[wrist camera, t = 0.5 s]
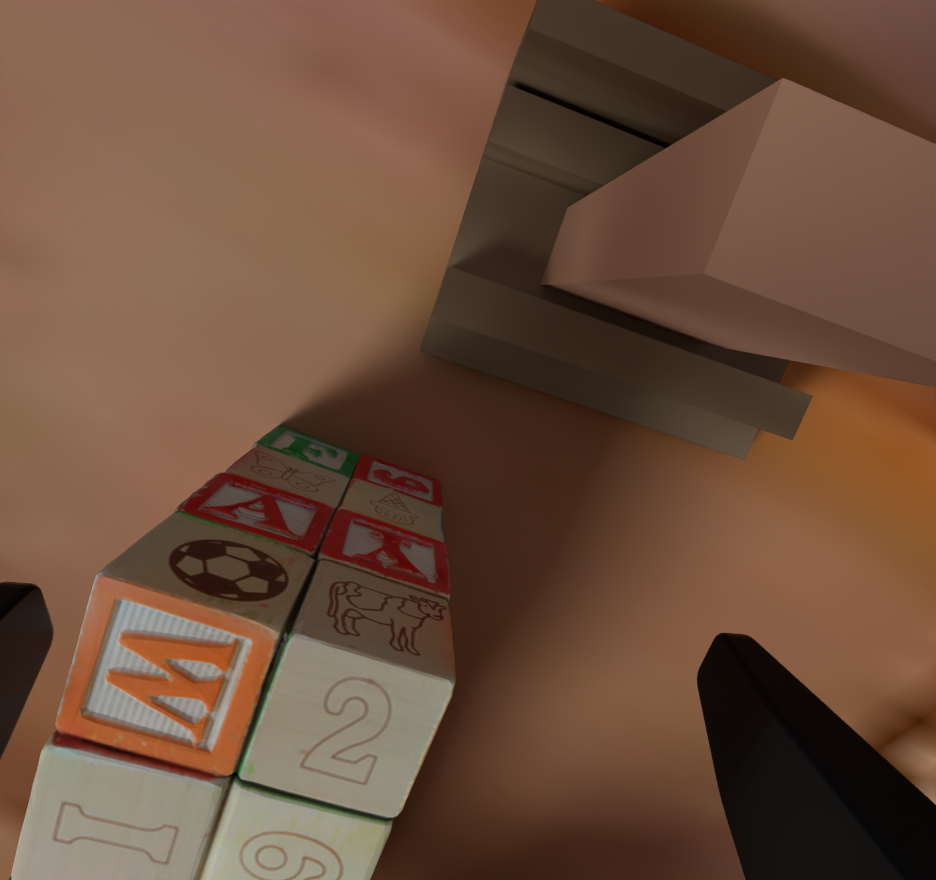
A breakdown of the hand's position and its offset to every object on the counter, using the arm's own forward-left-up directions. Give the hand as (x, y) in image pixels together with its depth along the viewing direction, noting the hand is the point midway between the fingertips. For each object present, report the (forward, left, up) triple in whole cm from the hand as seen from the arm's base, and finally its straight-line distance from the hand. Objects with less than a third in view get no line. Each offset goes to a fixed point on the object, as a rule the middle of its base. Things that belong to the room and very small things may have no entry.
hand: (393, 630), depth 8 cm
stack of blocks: (-11, +6, -14) cm, 19 cm away
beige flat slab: (+4, -8, -13) cm, 16 cm away
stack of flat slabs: (+4, -8, -14) cm, 16 cm away
